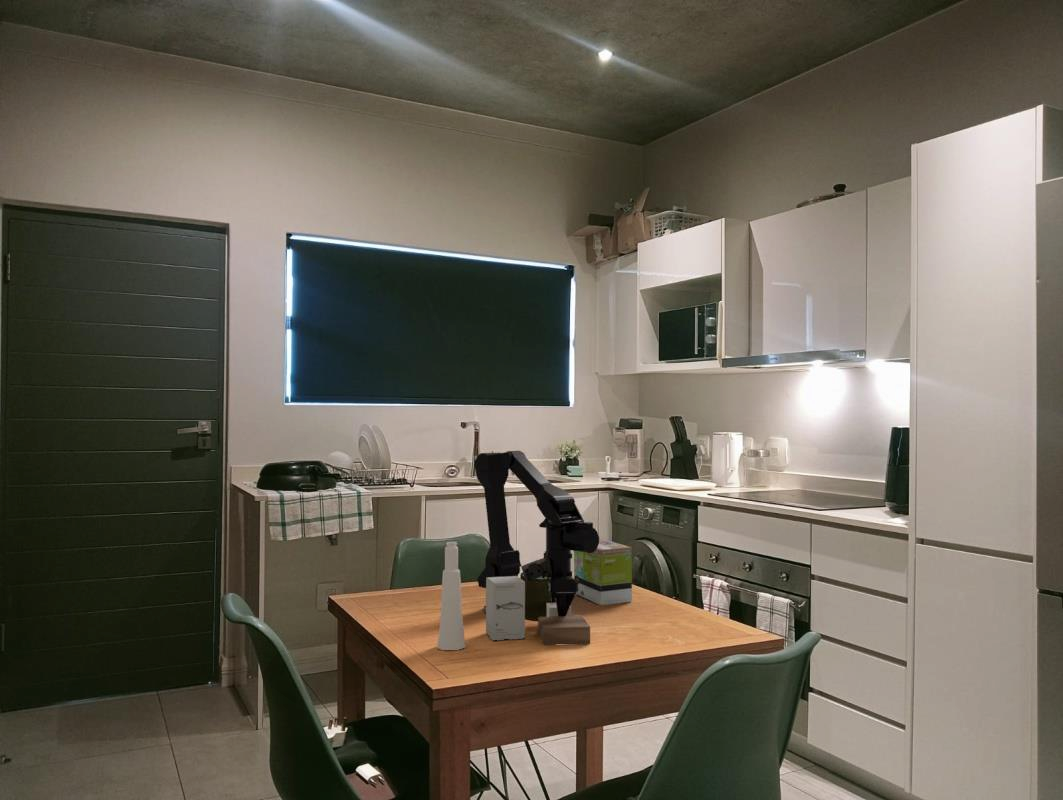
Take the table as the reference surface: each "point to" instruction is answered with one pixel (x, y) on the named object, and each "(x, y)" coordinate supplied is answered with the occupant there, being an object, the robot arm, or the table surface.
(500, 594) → the supplement box
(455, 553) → the cosmetic bottle
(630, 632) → the table surface
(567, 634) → the walnut block
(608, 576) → the tea box
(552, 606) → the ceramic cube
